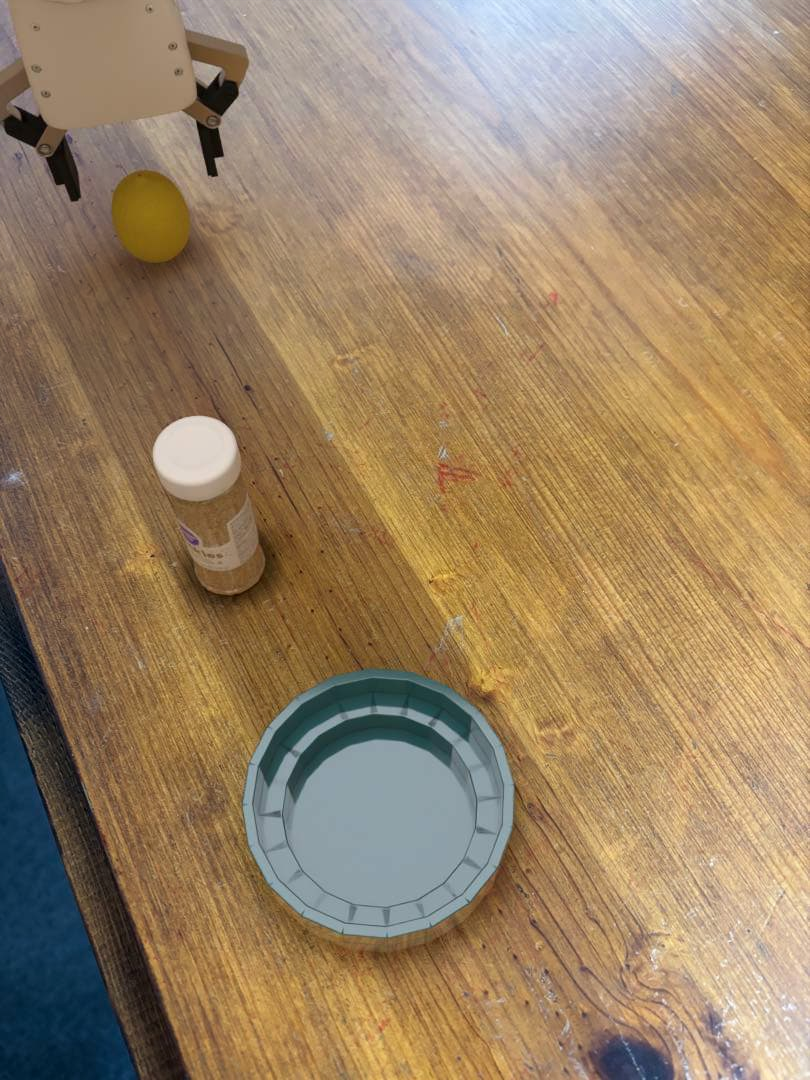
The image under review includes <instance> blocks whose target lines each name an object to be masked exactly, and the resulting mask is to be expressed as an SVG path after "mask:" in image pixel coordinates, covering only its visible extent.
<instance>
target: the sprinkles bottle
mask: <svg viewBox="0 0 810 1080" xmlns="http://www.w3.org/2000/svg"><path fill="white" fill-rule="evenodd" d="M152 461H153V466H154V468H155V471H156V474H157V478H158V479H159V482H160V484H161V485H162V487H163V488H164V489H165V490H166V491H167V493H168V496H169V498H170V501H171V503H172V506H173V508H174V511H175V514H176V520H177V523H178V526H179V528H180V531H181V534H182V537H183V540H184V543H185V545H186V548H187V552H188V553H189V555H190V557H191V559H192V562H193V566H194V571H195V575H196V578H197V579H198V581H199V583H200V584H201V585H202V587H204V588H205V589H206V590H207V591H209V592H212V593H214V594H216V595H224V596H234V595H237V594H241V593H243V592H247V590H249V589H250V588H252V587H253V586H255V585H256V584H257V583H258V582H259V580H260V579H261V577H262V575H263V573H264V570H265V567H266V557H265V554H264V550H263V548H262V546H261V545H260V540H259V532H258V527H257V524H256V520H255V516H254V512H253V508H252V505H251V501H250V496H249V492H248V488H247V485H246V483H245V481H244V476H243V472H242V457H241V453H240V449H239V446H238V442H237V439H236V436H235V434H234V432H233V431H232V430H231V429H230V427H229V426H228V425H226V424H225V423H224V422H222V421H221V420H219V419H216V418H214V417H210V416H206V415H191V416H186V417H183V418H179V419H177V420H175V421H173V422H172V423H170V424H168V426H166V427H164V428H163V430H162V431H161V432H160V433H159V435H158V436H157V437H156V440H155V442H154V444H153V448H152Z"/></svg>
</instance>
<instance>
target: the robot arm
mask: <svg viewBox="0 0 810 1080" xmlns="http://www.w3.org/2000/svg"><path fill="white" fill-rule="evenodd" d="M6 2H7V6H8V10H9V14H10V20H11V23H12V28H13V31H14V35H15V39H16V43H17V46H18V51H19V54H20V57H18V58H17V59H16V60H14V61H12V63H11V64H9V65H8V66H6V67H5V68H4V69H2V70H1V71H0V126H1V127H2V128H3V130H4V133H5V134H6V135H7V136H9V137H10V138H14V139H15V140H17V141H20V142H21V143H23V144H26V145H28V146H30V147H31V148H34V149H35V152H36V154H37V155H38V156H40V157H42V158H45V161H46V163H47V166H48V168H49V171H50V174H51V176H52V179H53V182H54V184H55V186H56V187H57V186H64V188H65V190H66V192H67V195H68V198H69V200H70V202H71V203H74V202H79V201H80V199H82V193H81V185H80V184H81V183H80V175H79V170H78V167H77V164H76V162H75V159H74V156H73V153H72V150H71V148H70V145H69V142H68V140H67V137H66V134H67V132H68V130H69V131H70V130H80V129H88V128H93V127H95V128H96V127H100V126H108V125H112V124H120V123H125V122H130V121H137V120H142V119H149V118H153V117H158V116H163V115H164V116H165V115H169V114H173V113H174V114H175V113H178V112H183V113H184V114H186V115H188V116H189V117H190V118H192V119H194V120H195V125H196V130H197V133H198V139H199V143H200V147H201V153H202V156H203V160H204V165H205V169H206V173H207V177H210V178H216V177H217V178H218V177H219V173H218V168H217V163H216V159H219V158H223V157H225V153H224V148H223V143H222V139H221V134H220V128H219V127H220V126H221V124H222V121H223V120H222V117H223V116H224V115H225V113H226V112H227V111H228V110H229V109H230V107H231V106H232V105H233V103H234V102H235V101H236V100H237V98H238V97H239V95H240V87H241V84H243V81H244V79H245V76H246V73H247V71H248V68H249V65H250V59H249V55H248V52H247V48H246V47H245V45H243V44H240V43H237V42H234V41H229V40H227V39H223V38H219V37H216V36H212V35H208V34H204V33H201V32H198V31H194V30H190V29H186V27H185V23H184V19H183V17H182V16H183V15H182V12H181V8H180V4H179V1H178V0H6ZM193 61H195V62H199V63H202V64H206V65H210V66H214V67H216V68H221V70H220V71H219V72H218V73H217V75H216V76H215V77H214V79H213V80H212V81H211V82H210V84H206V82H204V81H202V80H201V79H200V78H198V77H196V74H195V68H194V64H193ZM28 89H30V90H31V92H32V95H33V98H34V102H35V104H36V106H37V112H36V114H33V113H31V112H29V111H27V110H25V109H23V108H21V107H20V106H17V105H13V104H12V102H11V101H13V100H14V99H16V98H17V97H18V96H20V95H21V94H22V93H24V92H25V91H27V90H28Z"/></svg>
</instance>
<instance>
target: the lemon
mask: <svg viewBox="0 0 810 1080" xmlns="http://www.w3.org/2000/svg"><path fill="white" fill-rule="evenodd" d="M110 210H111V211H110V212H111V219H112V224H113V228H114V229H113V230H114V233H115V234H116V236H117V238H118V239H119V241H120V243H121V245H122V246H123V247H124V248H125V250H126V251H128V253H130V255H131V256H133V257H135V258H136V259H139V260H140V261H144V262H146V263H151V264H152V263H155V264H160V263H166V262H169V261H170V260H173V259H174V258H176V257H177V256H178V255H179V254H180V253H181V252H183V250H184V248H186V246H187V244H188V240H189V239H190V233H191V215H190V211H189V207H188V205H187V203H186V200H185V198H184V195H183V194H182V192H181V190H180V189H179V187H178V186H177V185H176V184H175V182H173V180H171V178H169V177H168V176H166V175H165V174H164V173H161V172H158V171H155V170H150V169H140V170H135V171H132V172H130V173H129V174H127V175H125V176H124V177H123V178H121V180H120V181H119V182H118V183H117V185H116V186H115V188H114V190H113V193H112V197H111V205H110Z"/></svg>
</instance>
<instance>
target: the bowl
mask: <svg viewBox="0 0 810 1080" xmlns="http://www.w3.org/2000/svg"><path fill="white" fill-rule="evenodd" d="M515 788H516V786H515V780H514V777H513V774H512V770H511V767H510V764H509V761H508V756H507V753H506V750H505V746H504V745H503V742H502V741H501V739H500V738H499V737H498V735H497V734H496V731H494V729H493V728H492V726H491V724H489V722H488V720H487V719H486V717H485V716H484V714H483V712H481V710H480V709H478V708H477V707H476V706H474V705H473V704H472V703H471V702H470V701H469V700H467V699H466V698H465V697H463V696H462V695H461V694H459V693H458V692H457V691H456V690H455V689H453V688H452V687H451V686H450V685H448V684H445V683H442V682H439V681H437V680H435V679H432V678H429V677H427V676H424V675H422V674H419V673H416V672H415V671H410V670H398V669H385V668H373V667H370V668H369V667H368V668H365V669H360V670H355V671H352V672H346V673H341V674H337V675H333V676H331V677H329V678H327V679H324V680H323V681H322V682H320V683H318V684H316V685H314V686H312V687H311V688H309V689H307V690H305V691H303V692H302V693H299V694H298V695H296V696H295V697H294V698H293V699H292V700H291V701H290V702H289V703H288V704H287V705H286V706H285V707H284V708H283V709H282V710H281V711H280V712H279V713H278V714H277V716H276V717H275V718H273V720H272V721H271V722H270V723H269V724H268V725H267V727H266V728H265V730H264V731H263V734H262V736H261V738H260V739H259V741H258V744H257V746H256V747H255V749H254V751H253V753H252V755H251V758H250V759H249V761H248V764H247V770H246V775H245V782H244V788H243V795H242V800H241V811H242V816H243V823H244V824H243V825H244V829H245V836H246V843H247V847H248V850H249V852H250V854H251V855H252V858H253V859H254V862H255V863H256V865H257V867H258V869H259V871H260V873H261V874H262V877H263V878H264V881H265V883H266V884H267V886H268V888H269V889H270V891H271V893H272V895H273V896H274V899H275V900H276V902H277V903H278V904H279V905H280V906H281V907H282V908H283V909H284V910H285V911H286V912H287V913H288V914H289V915H290V916H291V917H292V918H294V919H295V921H296V922H297V923H299V924H300V925H301V926H302V927H303V928H304V929H305V930H306V931H307V932H309V933H310V934H313V935H315V936H318V937H319V938H322V939H324V940H327V941H328V942H331V943H332V944H335V945H337V946H339V947H342V948H344V949H347V950H355V951H356V950H357V951H365V952H367V951H368V952H378V953H392V952H397V951H401V950H406V949H409V948H414V947H417V946H422V945H426V944H429V943H431V942H433V941H435V940H436V939H438V938H440V937H441V936H443V935H444V934H446V933H447V932H449V931H450V930H452V929H453V928H456V927H457V926H459V925H460V924H461V923H463V922H464V921H466V920H467V919H468V918H469V917H470V915H472V914H473V912H474V911H475V909H476V908H477V907H478V906H479V904H480V903H481V902H482V901H483V899H484V898H485V897H486V896H487V894H488V893H489V892H490V891H491V890H492V888H493V886H494V884H495V883H496V882H495V881H496V879H497V876H498V873H499V871H500V867H501V865H502V862H503V860H504V857H505V854H506V852H507V849H508V846H509V842H510V839H511V835H512V833H513V829H514V820H515V792H516V791H515Z"/></svg>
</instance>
